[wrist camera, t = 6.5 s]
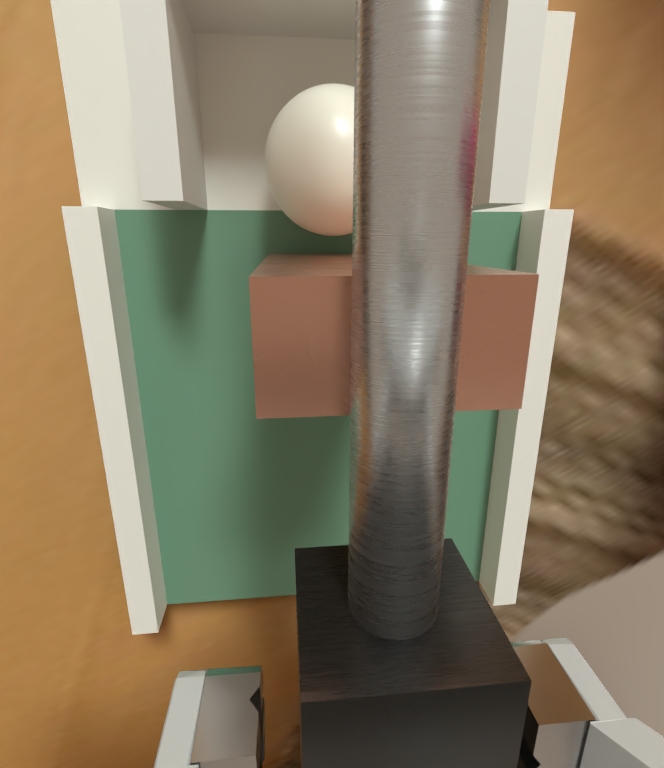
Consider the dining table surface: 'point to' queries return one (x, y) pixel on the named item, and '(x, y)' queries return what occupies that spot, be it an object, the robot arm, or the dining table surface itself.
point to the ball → (314, 159)
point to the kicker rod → (401, 411)
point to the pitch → (232, 296)
